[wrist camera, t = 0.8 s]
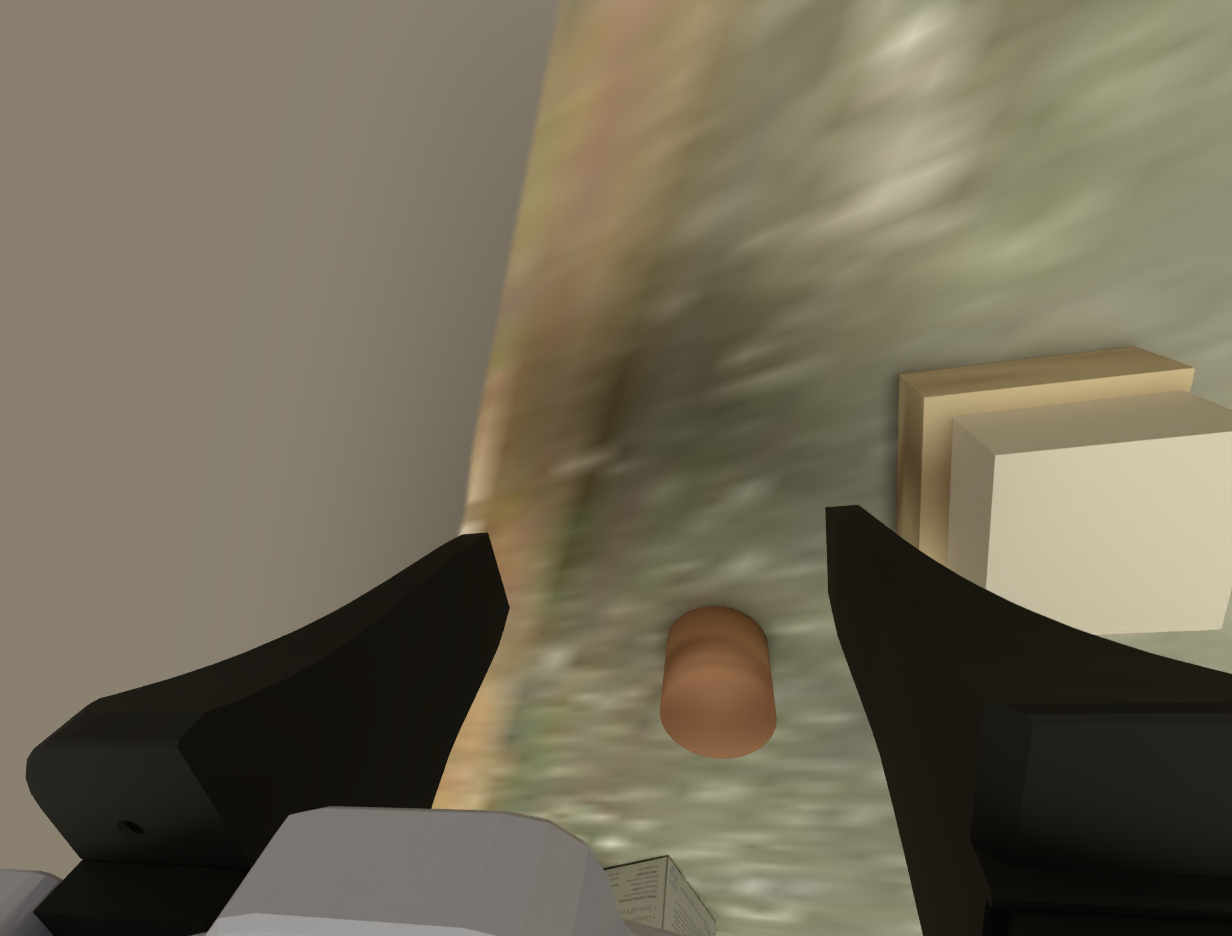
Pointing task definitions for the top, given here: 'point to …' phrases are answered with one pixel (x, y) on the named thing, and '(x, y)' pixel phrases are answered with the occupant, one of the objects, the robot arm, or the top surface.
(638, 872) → the light bulb box
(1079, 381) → the tower base
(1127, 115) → the top surface
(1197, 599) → the tower top
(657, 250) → the top surface
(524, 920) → the robot arm
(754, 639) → the cylinder
